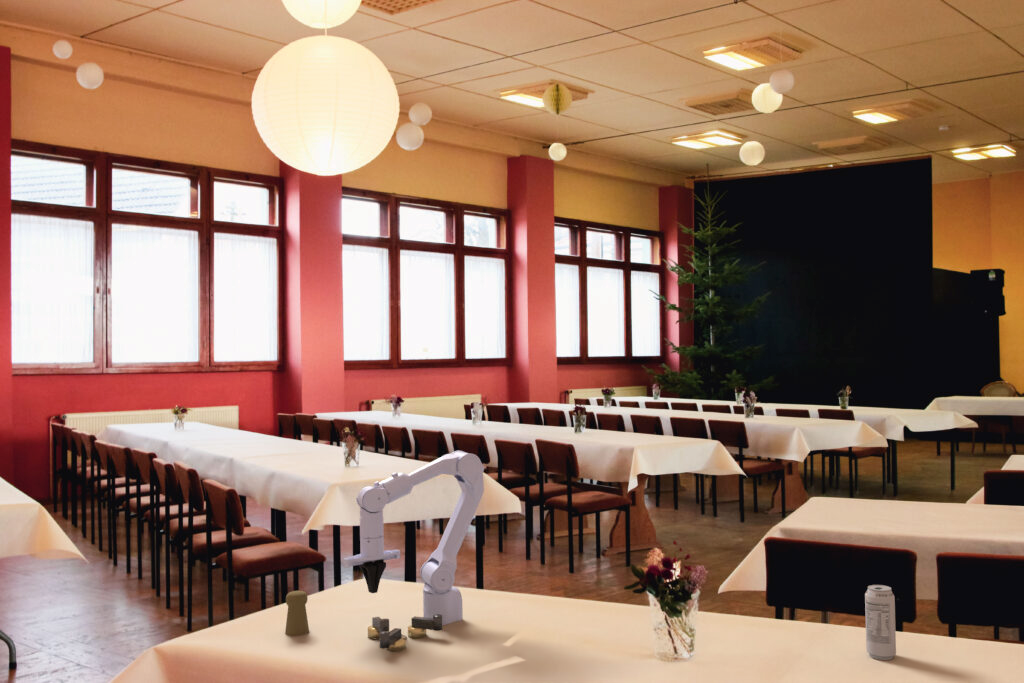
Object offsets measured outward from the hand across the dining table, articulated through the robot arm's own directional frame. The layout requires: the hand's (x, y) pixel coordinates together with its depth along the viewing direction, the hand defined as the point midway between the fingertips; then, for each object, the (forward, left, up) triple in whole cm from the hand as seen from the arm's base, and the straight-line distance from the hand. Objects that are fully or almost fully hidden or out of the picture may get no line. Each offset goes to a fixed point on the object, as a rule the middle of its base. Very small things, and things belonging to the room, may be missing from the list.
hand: (372, 592), depth 220 cm
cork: (+15, -11, -11) cm, 21 cm away
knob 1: (+2, +7, -9) cm, 12 cm away
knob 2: (+4, +17, -9) cm, 20 cm away
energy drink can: (-78, +87, -11) cm, 117 cm away
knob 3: (-7, +12, -9) cm, 17 cm away
